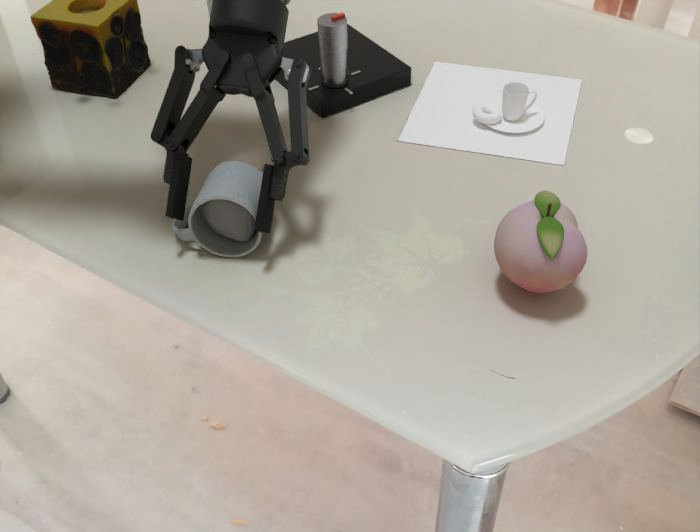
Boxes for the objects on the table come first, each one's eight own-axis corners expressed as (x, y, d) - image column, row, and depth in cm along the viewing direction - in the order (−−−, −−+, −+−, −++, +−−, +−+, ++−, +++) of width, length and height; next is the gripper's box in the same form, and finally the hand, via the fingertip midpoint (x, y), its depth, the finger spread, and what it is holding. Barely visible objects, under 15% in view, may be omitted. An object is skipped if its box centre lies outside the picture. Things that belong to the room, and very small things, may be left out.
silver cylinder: (330, 91, 98) (327, 27, 92) (315, 79, 100) (311, 15, 94) (354, 82, 99) (352, 18, 93) (339, 70, 101) (336, 7, 95)
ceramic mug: (278, 210, 86) (269, 151, 80) (266, 259, 80) (256, 200, 75) (185, 208, 87) (170, 150, 81) (167, 257, 81) (149, 198, 76)
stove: (261, 67, 107) (259, 49, 105) (346, 38, 112) (345, 20, 110) (325, 121, 98) (324, 102, 96) (415, 87, 102) (415, 69, 100)
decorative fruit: (481, 256, 80) (491, 176, 72) (559, 250, 80) (577, 170, 73) (499, 321, 74) (512, 241, 66) (584, 315, 74) (607, 234, 66)
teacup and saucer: (467, 130, 95) (470, 100, 92) (479, 97, 100) (483, 67, 97) (539, 140, 93) (544, 110, 90) (548, 106, 98) (553, 76, 95)
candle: (51, 89, 105) (26, 17, 98) (90, 54, 111) (69, -17, 104) (116, 100, 103) (96, 27, 95) (153, 63, 109) (136, -8, 101)
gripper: (365, 22, 78) (329, 244, 80) (169, 4, 82) (139, 215, 84) (348, -9, 70) (309, 236, 72) (134, -27, 75) (102, 205, 77)
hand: (217, 225), depth 78 cm, fingers closed on ceramic mug, 9 cm apart
